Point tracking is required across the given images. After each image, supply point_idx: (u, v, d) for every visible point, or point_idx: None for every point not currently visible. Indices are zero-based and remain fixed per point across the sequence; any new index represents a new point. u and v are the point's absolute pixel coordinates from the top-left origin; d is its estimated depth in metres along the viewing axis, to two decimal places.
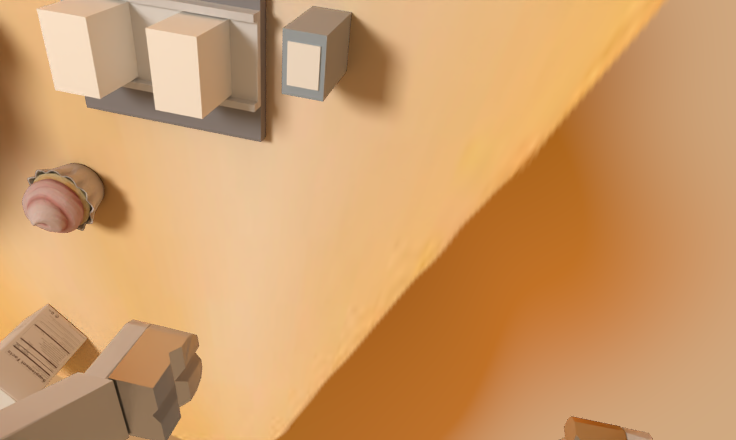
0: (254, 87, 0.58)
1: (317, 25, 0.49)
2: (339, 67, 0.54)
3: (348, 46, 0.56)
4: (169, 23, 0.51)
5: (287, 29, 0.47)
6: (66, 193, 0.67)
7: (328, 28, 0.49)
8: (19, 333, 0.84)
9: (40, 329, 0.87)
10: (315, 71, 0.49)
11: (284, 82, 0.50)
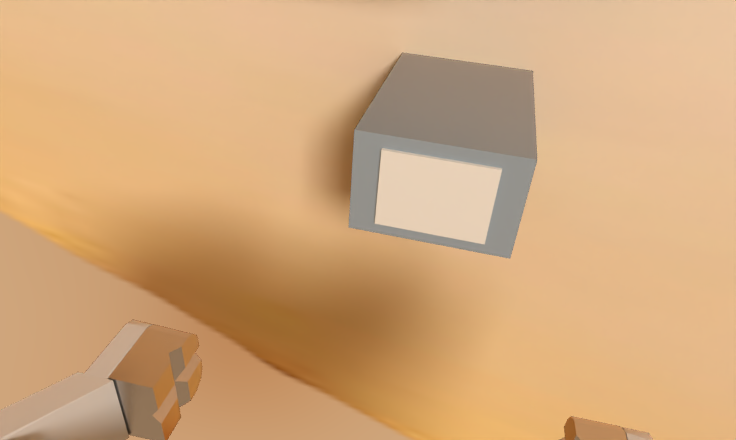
0: None
1: None
2: None
3: None
4: None
5: (532, 170, 0.17)
6: None
7: None
8: None
9: None
10: (422, 222, 0.20)
11: (386, 141, 0.18)
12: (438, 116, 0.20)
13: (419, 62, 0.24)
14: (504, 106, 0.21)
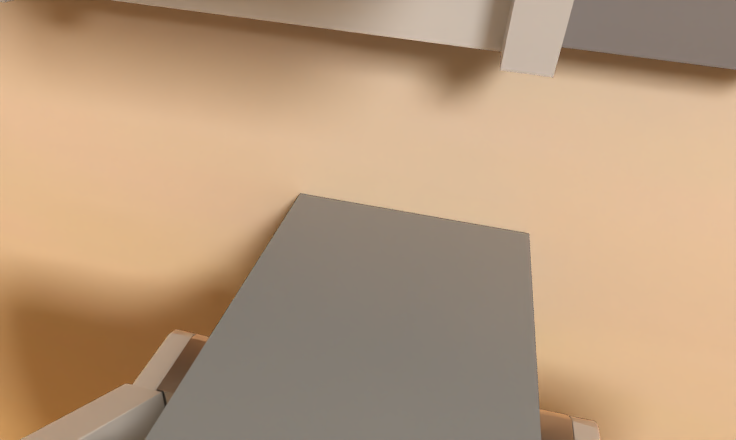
0: None
1: None
2: None
3: None
4: None
5: None
6: None
7: None
8: None
9: None
10: None
11: None
12: (321, 433, 0.09)
13: (325, 221, 0.13)
14: (473, 371, 0.10)
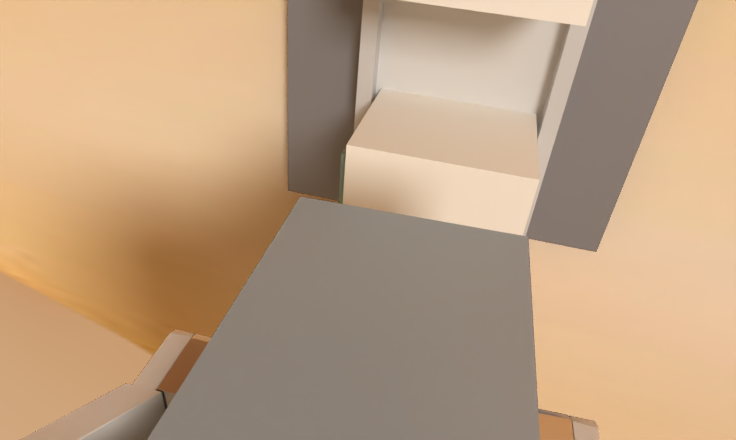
0: None
1: None
2: None
3: None
4: None
5: None
6: None
7: None
8: None
9: None
10: None
11: None
12: (321, 436, 0.09)
13: (325, 224, 0.14)
14: (472, 374, 0.10)
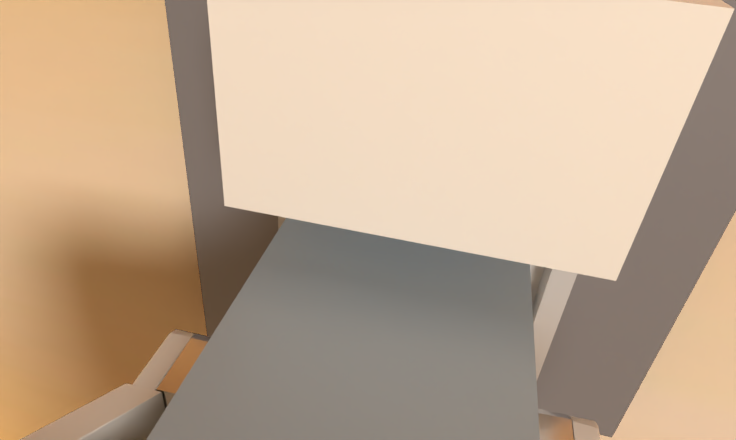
0: None
1: None
2: None
3: None
4: None
5: None
6: None
7: None
8: None
9: None
10: None
11: None
12: (321, 436, 0.09)
13: None
14: (472, 374, 0.10)
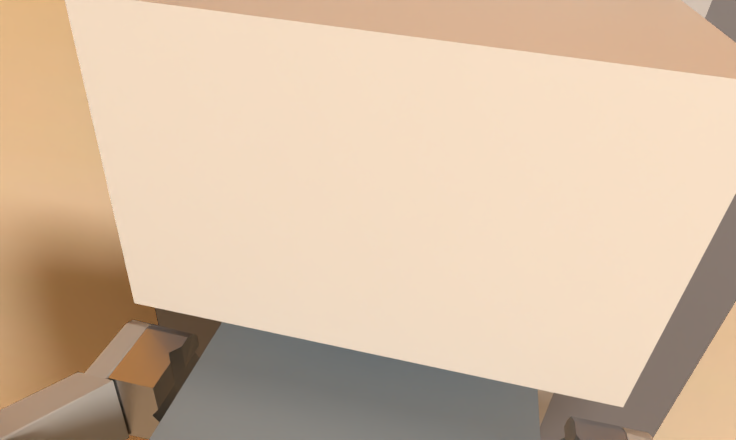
0: None
1: None
2: None
3: None
4: None
5: None
6: None
7: None
8: None
9: None
10: None
11: None
12: (341, 381, 0.10)
13: None
14: None
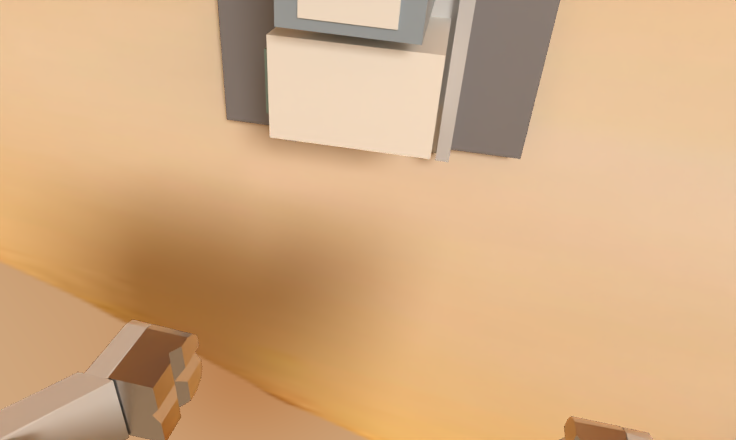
0: None
1: None
2: None
3: None
4: (444, 63, 0.26)
5: None
6: None
7: (427, 19, 0.23)
8: None
9: None
10: (341, 13, 0.21)
11: None
12: None
13: None
14: None
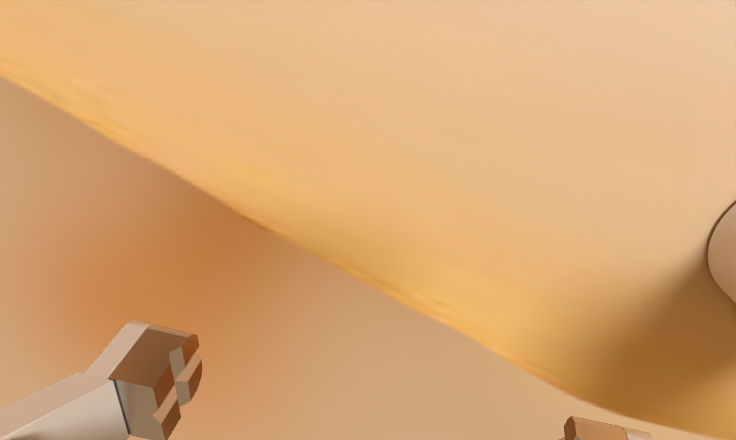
0: None
1: None
2: None
3: None
4: None
5: None
6: None
7: None
8: None
9: None
10: None
11: None
12: None
13: None
14: None
